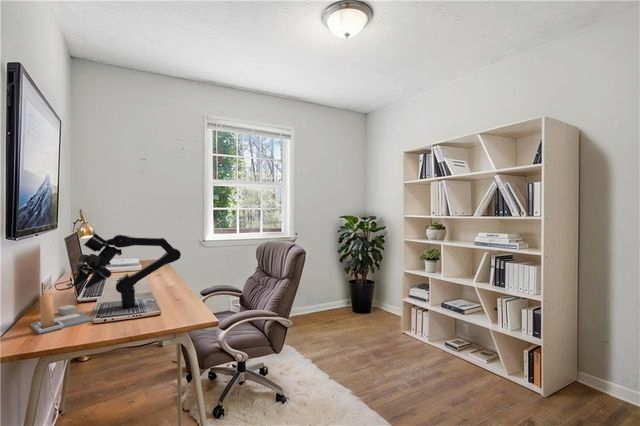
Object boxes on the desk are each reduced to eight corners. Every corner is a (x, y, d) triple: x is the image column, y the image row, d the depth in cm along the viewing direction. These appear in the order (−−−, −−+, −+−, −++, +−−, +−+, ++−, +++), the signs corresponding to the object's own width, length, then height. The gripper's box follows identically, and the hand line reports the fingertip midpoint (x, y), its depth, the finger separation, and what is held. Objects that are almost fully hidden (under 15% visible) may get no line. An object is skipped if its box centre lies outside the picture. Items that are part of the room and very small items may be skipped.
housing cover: (77, 312, 155) (77, 306, 155) (65, 315, 151) (65, 309, 151) (70, 310, 159) (69, 304, 159) (57, 313, 154) (57, 307, 154)
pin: (56, 326, 135) (55, 293, 135) (49, 329, 131) (47, 296, 131) (46, 326, 135) (45, 294, 135) (38, 330, 131) (37, 297, 131)
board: (94, 321, 142) (94, 317, 142) (39, 334, 128) (39, 330, 128) (81, 313, 153) (81, 309, 153) (30, 325, 139) (30, 321, 139)
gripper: (79, 246, 156) (52, 274, 146) (103, 248, 147) (76, 278, 137) (98, 260, 163) (73, 288, 153) (121, 262, 154) (97, 292, 145)
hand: (79, 286), depth 147 cm, fingers open, 9 cm apart
